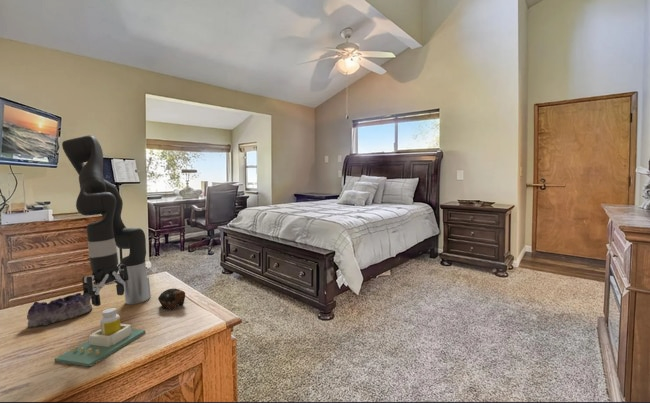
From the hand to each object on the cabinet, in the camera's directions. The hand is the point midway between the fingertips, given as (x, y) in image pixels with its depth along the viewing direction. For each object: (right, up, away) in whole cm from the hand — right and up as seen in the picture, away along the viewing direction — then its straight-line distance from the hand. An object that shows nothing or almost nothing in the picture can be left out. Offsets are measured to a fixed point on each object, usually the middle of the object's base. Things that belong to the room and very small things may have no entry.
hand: (109, 300), depth 105 cm
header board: (-1, -15, -2) cm, 15 cm away
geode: (-35, -15, +22) cm, 44 cm away
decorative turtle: (+8, -12, +28) cm, 31 cm away
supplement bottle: (0, -14, +1) cm, 14 cm away
